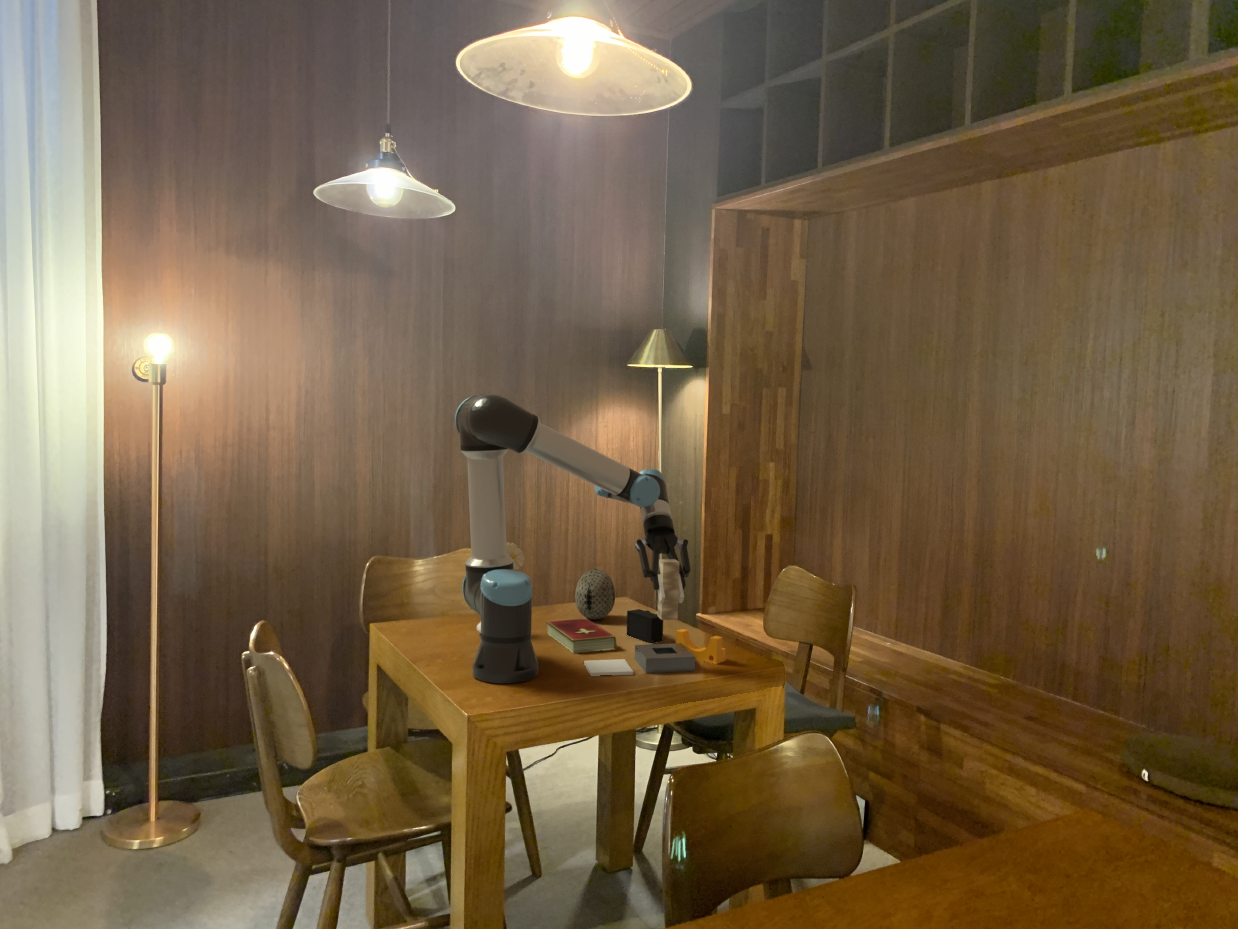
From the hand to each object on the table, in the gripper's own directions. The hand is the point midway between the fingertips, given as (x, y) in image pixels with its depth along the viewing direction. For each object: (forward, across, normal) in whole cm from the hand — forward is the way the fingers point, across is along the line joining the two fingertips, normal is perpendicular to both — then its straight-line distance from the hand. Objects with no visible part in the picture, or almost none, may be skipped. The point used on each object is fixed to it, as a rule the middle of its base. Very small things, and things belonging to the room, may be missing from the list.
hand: (672, 599), depth 213 cm
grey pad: (+11, +15, -13) cm, 23 cm away
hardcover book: (-7, +17, -32) cm, 37 cm away
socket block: (+9, 0, -14) cm, 17 cm away
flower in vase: (-15, +38, -39) cm, 56 cm away
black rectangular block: (-8, -1, -32) cm, 33 cm away
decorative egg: (-24, +9, -48) cm, 54 cm away
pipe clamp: (+6, -10, -18) cm, 22 cm away
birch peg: (+1, 0, -6) cm, 6 cm away
